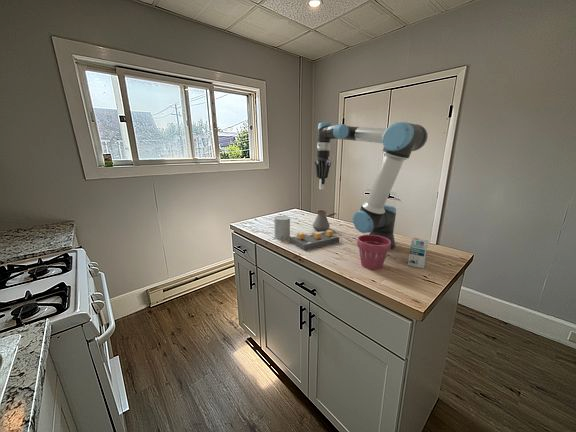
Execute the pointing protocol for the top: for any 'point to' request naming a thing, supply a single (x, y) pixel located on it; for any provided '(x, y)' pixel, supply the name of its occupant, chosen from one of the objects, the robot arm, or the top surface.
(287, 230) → the grey cylinder
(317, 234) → the switch
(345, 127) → the robot arm
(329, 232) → the switch
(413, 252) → the light bulb box
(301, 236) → the switch
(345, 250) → the top surface
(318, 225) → the coffee pot
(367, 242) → the plant pot
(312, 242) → the grey flat tray
